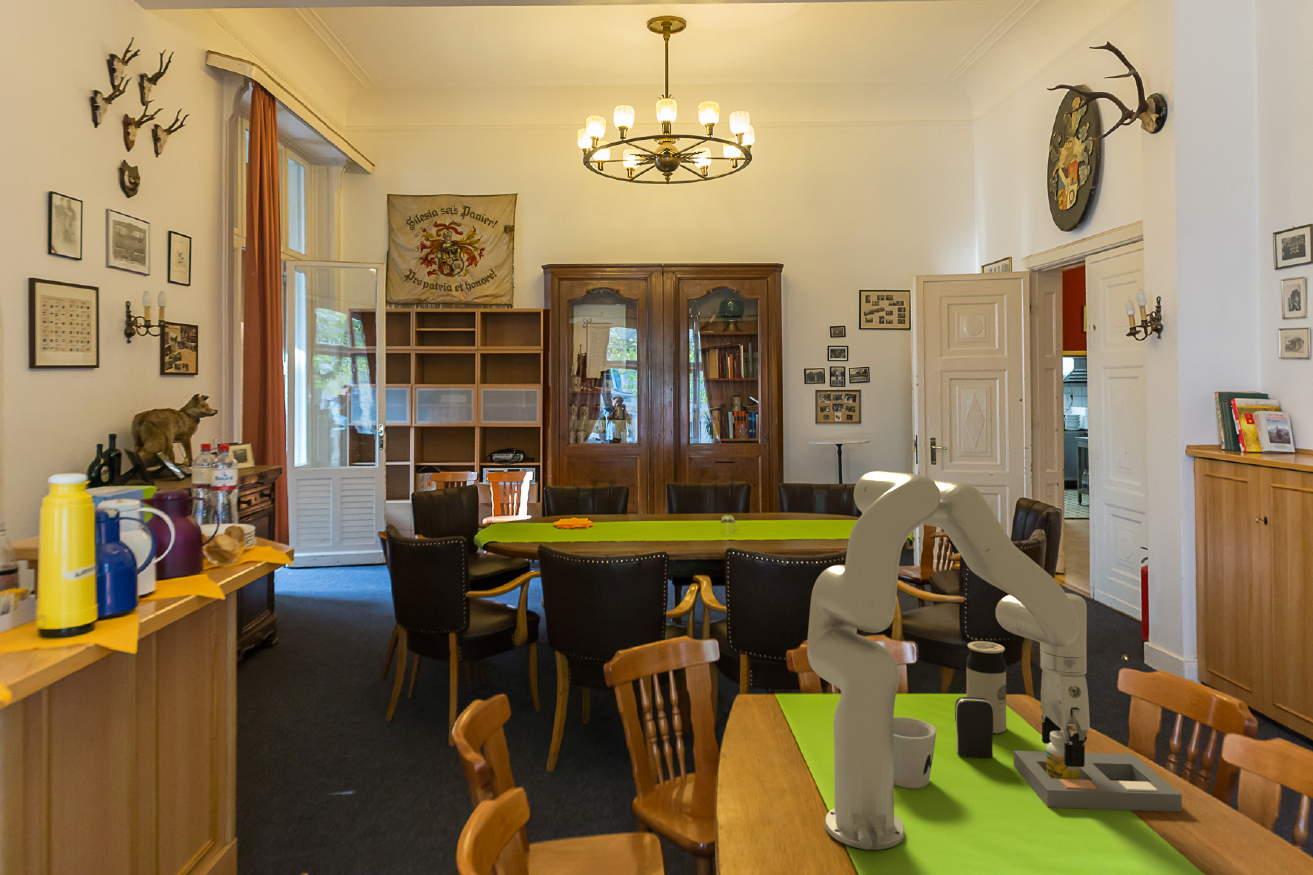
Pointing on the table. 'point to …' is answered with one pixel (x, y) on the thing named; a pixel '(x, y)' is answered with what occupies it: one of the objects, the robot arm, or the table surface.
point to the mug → (912, 751)
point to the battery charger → (974, 727)
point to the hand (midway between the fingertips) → (1062, 754)
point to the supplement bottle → (1058, 758)
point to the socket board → (1100, 783)
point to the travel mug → (988, 679)
